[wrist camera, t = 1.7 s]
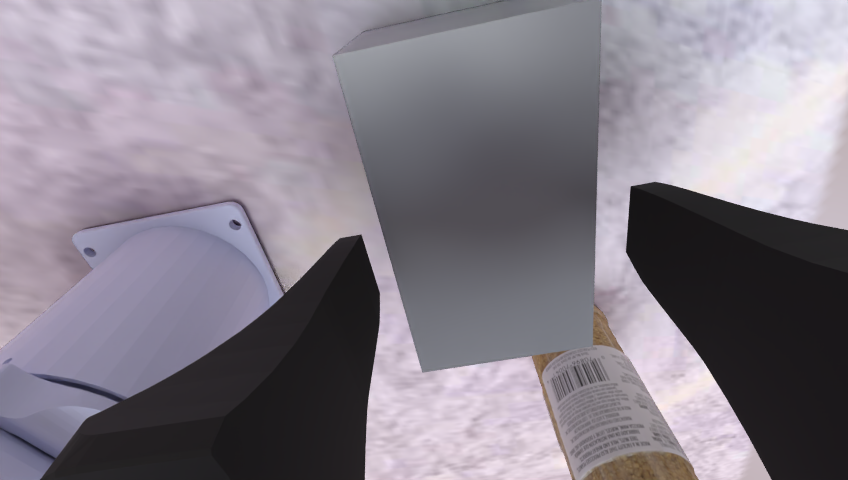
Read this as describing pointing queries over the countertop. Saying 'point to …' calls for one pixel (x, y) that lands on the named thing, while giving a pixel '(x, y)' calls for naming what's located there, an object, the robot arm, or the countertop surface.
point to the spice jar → (607, 414)
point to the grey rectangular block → (484, 173)
